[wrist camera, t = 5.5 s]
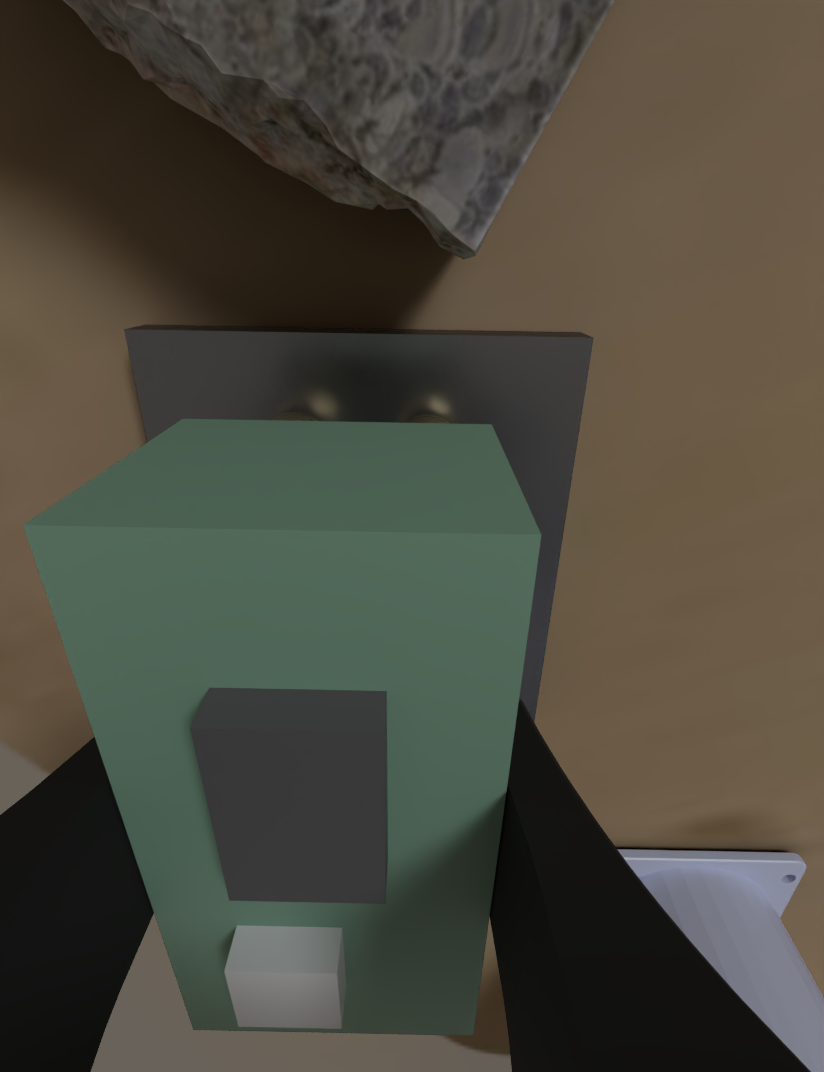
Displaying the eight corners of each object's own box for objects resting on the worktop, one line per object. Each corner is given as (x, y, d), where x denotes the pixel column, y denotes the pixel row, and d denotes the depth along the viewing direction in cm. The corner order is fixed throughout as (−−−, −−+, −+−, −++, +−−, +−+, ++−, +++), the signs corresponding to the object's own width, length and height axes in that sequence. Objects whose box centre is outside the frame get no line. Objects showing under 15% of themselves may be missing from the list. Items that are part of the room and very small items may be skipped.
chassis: (524, 722, 18) (551, 836, 14) (219, 716, 18) (169, 829, 14) (580, 332, 13) (646, 359, 9) (145, 324, 13) (35, 348, 9)
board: (458, 828, 13) (476, 1080, 9) (253, 823, 13) (180, 1074, 9) (491, 424, 9) (555, 567, 5) (183, 418, 9) (-22, 555, 5)
